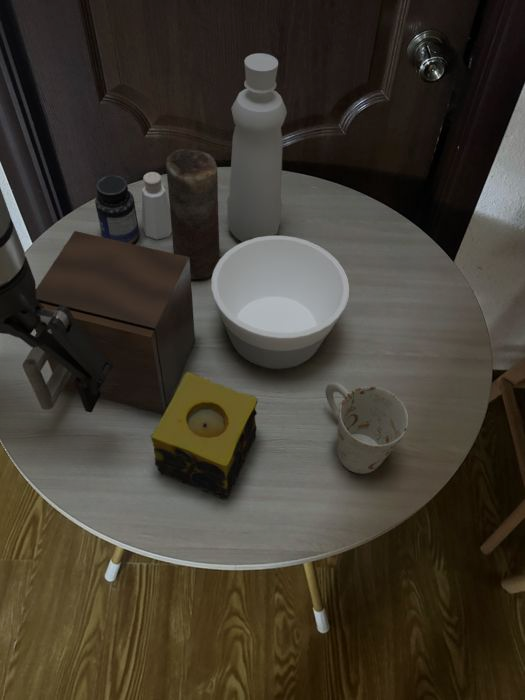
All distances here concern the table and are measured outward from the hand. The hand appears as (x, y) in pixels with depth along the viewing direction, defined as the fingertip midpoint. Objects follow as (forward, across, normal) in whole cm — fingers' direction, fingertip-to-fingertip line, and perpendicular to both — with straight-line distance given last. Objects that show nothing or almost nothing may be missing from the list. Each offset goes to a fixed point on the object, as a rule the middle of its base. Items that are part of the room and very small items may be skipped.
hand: (41, 389), depth 75 cm
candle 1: (+9, +8, +34) cm, 36 cm away
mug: (+10, +38, +9) cm, 40 cm away
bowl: (+9, +24, +24) cm, 35 cm away
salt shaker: (+9, -1, +40) cm, 41 cm away
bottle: (+9, +15, +45) cm, 48 cm away
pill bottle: (+9, -6, +36) cm, 38 cm away
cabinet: (+9, +5, +13) cm, 17 cm away
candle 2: (+9, +20, +2) cm, 22 cm away
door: (+9, +5, +3) cm, 11 cm away
